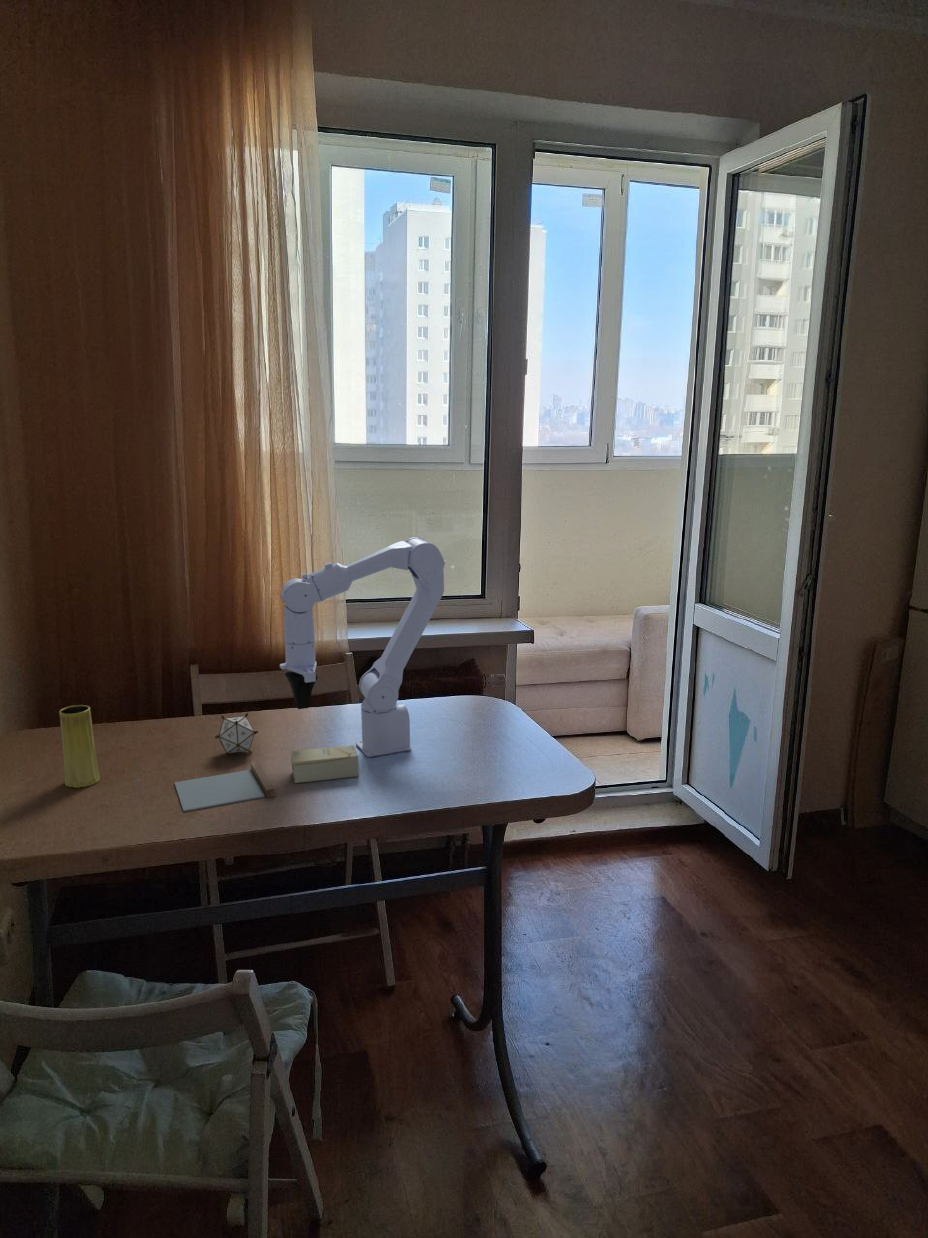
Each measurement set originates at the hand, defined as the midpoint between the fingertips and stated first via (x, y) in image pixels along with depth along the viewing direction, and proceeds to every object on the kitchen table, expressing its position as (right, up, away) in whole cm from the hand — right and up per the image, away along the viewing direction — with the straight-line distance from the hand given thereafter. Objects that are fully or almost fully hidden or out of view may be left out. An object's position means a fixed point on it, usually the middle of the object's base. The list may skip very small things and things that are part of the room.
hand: (302, 707), depth 171 cm
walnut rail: (-6, -13, -10) cm, 17 cm away
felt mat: (-13, -14, -13) cm, 23 cm away
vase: (-40, -13, -9) cm, 43 cm away
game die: (-14, -10, +5) cm, 18 cm away
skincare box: (0, -11, -8) cm, 13 cm away
